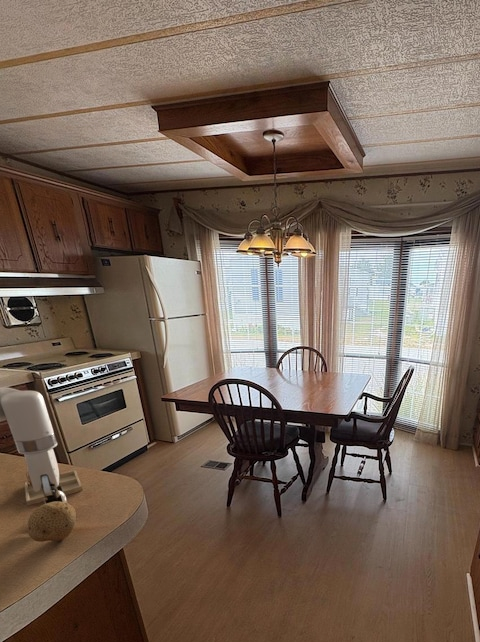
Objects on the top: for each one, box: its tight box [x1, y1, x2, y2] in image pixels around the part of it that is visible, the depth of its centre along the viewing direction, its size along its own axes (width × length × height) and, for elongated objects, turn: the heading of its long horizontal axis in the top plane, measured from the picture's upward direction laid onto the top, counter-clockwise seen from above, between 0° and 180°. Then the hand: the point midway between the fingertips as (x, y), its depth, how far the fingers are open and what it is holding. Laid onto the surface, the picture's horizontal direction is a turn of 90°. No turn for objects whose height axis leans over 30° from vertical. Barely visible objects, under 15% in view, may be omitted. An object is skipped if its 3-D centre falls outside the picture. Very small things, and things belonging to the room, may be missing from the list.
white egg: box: [43, 490, 69, 504], centre depth 89 cm, size 4×4×6 cm
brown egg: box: [25, 471, 33, 487], centre depth 100 cm, size 4×4×6 cm
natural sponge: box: [27, 501, 77, 543], centre depth 79 cm, size 9×9×10 cm
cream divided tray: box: [23, 469, 83, 506], centre depth 101 cm, size 13×13×2 cm
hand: (57, 504), depth 89 cm, fingers closed on white egg, 4 cm apart
